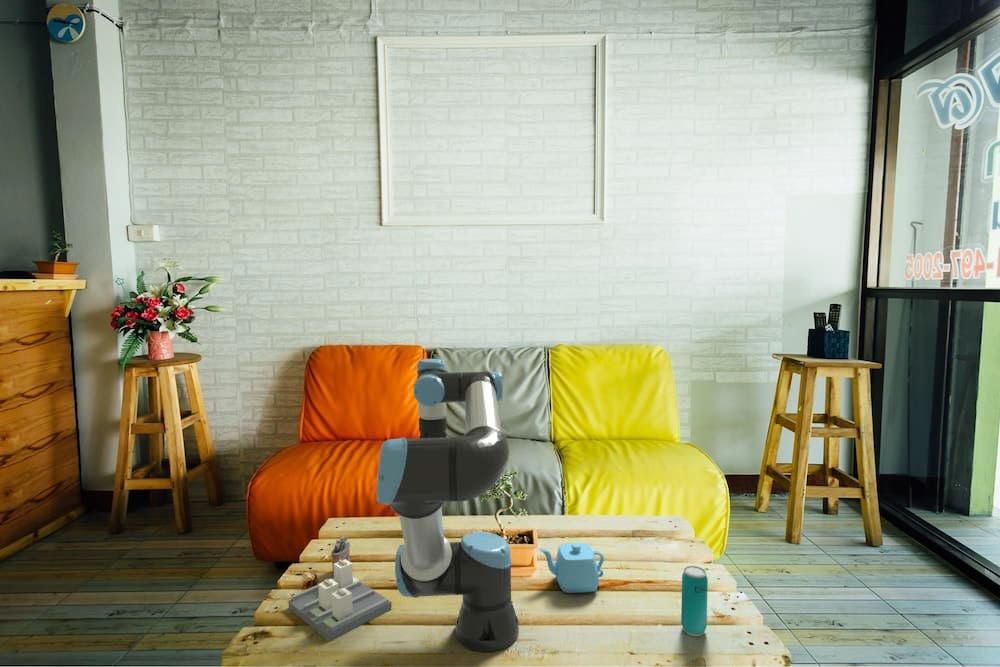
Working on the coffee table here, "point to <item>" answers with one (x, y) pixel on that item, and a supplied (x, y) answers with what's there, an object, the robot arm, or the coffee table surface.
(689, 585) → the beverage can
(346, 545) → the lighter
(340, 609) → the white hollow block
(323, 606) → the white rectangular block
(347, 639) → the coffee table surface
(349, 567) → the white hollow block
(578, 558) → the teapot
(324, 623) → the grey slotted block holder
